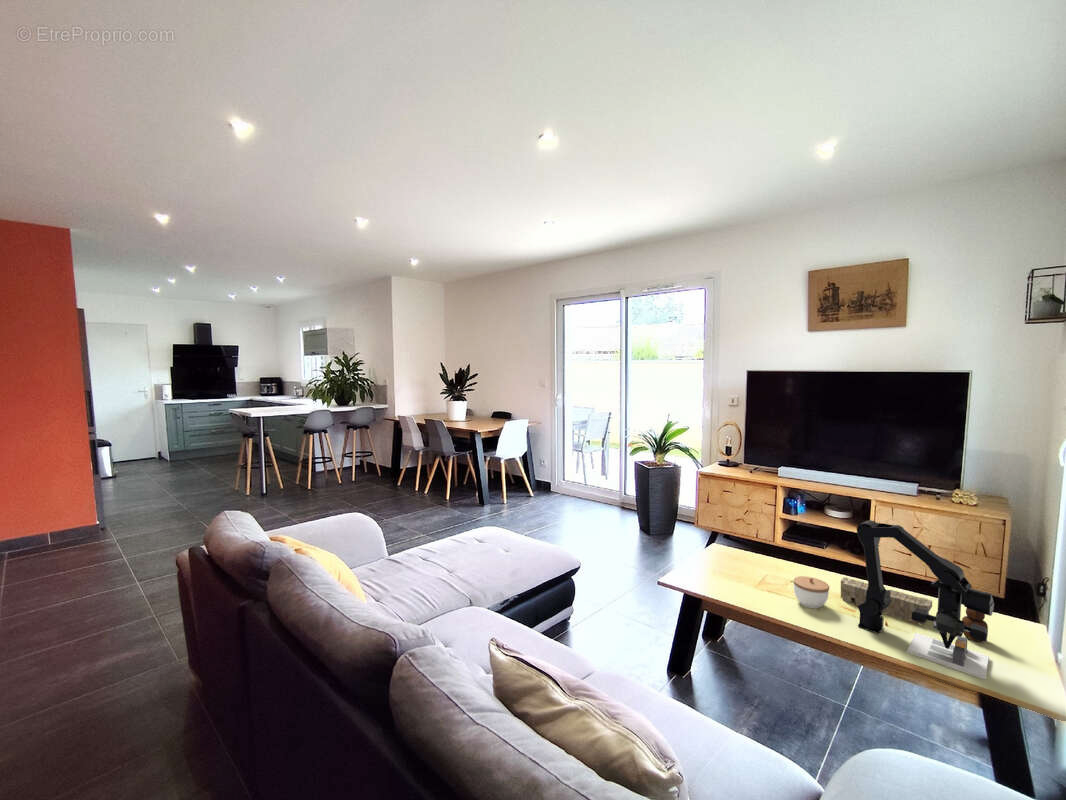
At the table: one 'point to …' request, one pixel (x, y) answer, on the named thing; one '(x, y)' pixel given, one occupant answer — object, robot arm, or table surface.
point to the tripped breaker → (961, 646)
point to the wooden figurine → (973, 621)
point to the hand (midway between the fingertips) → (947, 648)
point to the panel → (949, 655)
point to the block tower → (898, 606)
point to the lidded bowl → (811, 591)
